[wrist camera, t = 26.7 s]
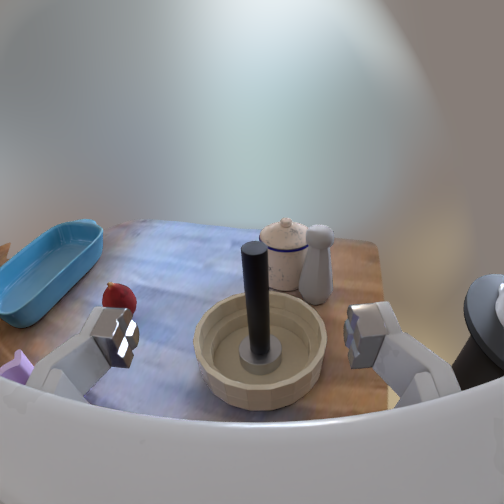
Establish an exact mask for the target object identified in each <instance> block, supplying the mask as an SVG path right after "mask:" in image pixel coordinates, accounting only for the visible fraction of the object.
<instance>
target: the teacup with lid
mask: <svg viewBox="0 0 504 504" xmlns="http://www.w3.org/2000/svg"><path fill="white" fill-rule="evenodd" d="M307 229H309V228H308V227H306V226H304V225H302V224H300V223H296V222H292V220H291V219H290V218H283V219H281V220H280V222H276V223H272V224H270V225H268V226H266V227H265V228H263V229H262V231H261V233H260V235H259V241H260V242H263V243H265V244H266V245H267V247H268V270H269V287H271V288H273V289H276V290H280V291H292V290H296V289H299V288H298V287H299V280H300V276H301V272H302V269H303V265H304V261H305V257H306V254H307V250H308V246H309V245H308V244H307V243H306V231H307Z"/></svg>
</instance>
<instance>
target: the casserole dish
mask: <svg viewBox="0 0 504 504" xmlns="http://www.w3.org/2000/svg"><path fill="white" fill-rule="evenodd" d="M102 249H103V229H102V227H100V226H99V225H97V224H96V222H95V221H94V220H90V219H80V220H75V221H72V222H65V223H61V224H59V225H56V226H54V227H52V228H50V229H49V230H47V231H46V232H44V233H43V234H41V235H40V236H39V237H37V238H36V239H35V240H33V241H32V242H31V243H30V244H28V245H27V246H26V247H25V248H23V249H22V250H21V251H20V252H18V253H17V254H16V255H15V256H13V257H12V258H11V259H10V260H8V261H7V262H6V263H5V264H4V265H2V266H1V267H0V318H1V319H3V320H4V321H5V322H7V323H8V324H10V325H12V326H14V327H17V328H25V327H29V326H31V325H33V324H35V323H36V322H37V321H39V320H40V319H41V318H42V317H43V316H44V315H45V314H46V313H47V312H48V311H49V310H50V309H51V308H52V307H53V306H54V305H55V304H56V303H57V302H58V301H59V300H60V299H61V298H62V297H63V296H64V295H65V294H66V293H67V292H68V290H70V289H71V288H72V287H73V286H74V285H75V284H76V283H77V282H78V281H79V280H80V279H81V278H82V277H83V276H84V275H85V274H86V273H87V272H88V271H89V270H90V269H91V268H92V267H93V266H94V264H95V263H96V262H97V261H98V259H99V258H100V256H101V253H102Z"/></svg>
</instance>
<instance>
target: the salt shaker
mask: <svg viewBox="0 0 504 504" xmlns="http://www.w3.org/2000/svg"><path fill="white" fill-rule="evenodd" d="M306 243H307V244H308V245H309V246H308V250H307V254H306V257H305V261H304V265H303V269H302V272H301V276H300V280H299V287H298V288H299V291H300V293H301V294H302V296H303V298H304V301H305V302H307V303H310V304H312V305H318V304H321V303H325V301H326V300H327V299H328V297H329V296H330V294H331V293H332V291H333V280H332V267H331V255H330V247H331V246H332V245H333V243H334V231H333V230H332V229H330V227H328V226H325V225H314V226H311V227H310V228H309V229H307V231H306Z"/></svg>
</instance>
